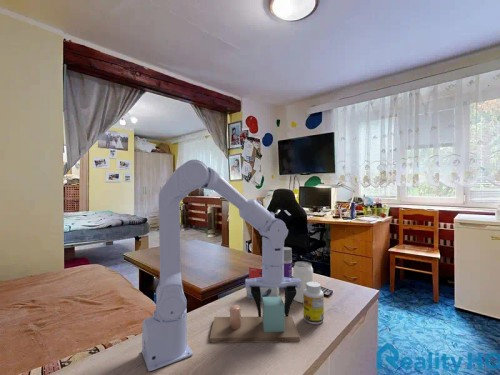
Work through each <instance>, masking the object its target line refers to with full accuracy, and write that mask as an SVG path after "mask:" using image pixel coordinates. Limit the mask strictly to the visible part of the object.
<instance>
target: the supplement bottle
mask: <svg viewBox="0 0 500 375" xmlns="http://www.w3.org/2000/svg"><path fill="white" fill-rule="evenodd" d="M324 296H325V294H324V292H323V290H322V288H321V283H320V282H317V281H313V282H307V283H306V289H305V290H304V303H303V319H304V321H305V322H306V323H309V324H311V325H320V324H322V323H323V322H324V313H325V312H324V309H325V308H324V304H325V301H324V298H325V297H324Z"/></svg>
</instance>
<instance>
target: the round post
mask: <svg viewBox="0 0 500 375" xmlns="http://www.w3.org/2000/svg"><path fill="white" fill-rule="evenodd" d="M241 312H242V309H241V306H240V305H238V304H234V305H231V306H230V307H229V317H230V328H231V329H234V330H236V329H239V328H240V327H241V317H242V316H241V314H242V313H241Z"/></svg>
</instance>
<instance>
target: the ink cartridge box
mask: <svg viewBox="0 0 500 375" xmlns="http://www.w3.org/2000/svg"><path fill="white" fill-rule="evenodd" d="M260 273H261V274H260ZM259 277H262V268H256V267H248V279H252V278H259ZM245 290H246V298H248V299H253V300H254V298H253V296H252V294H251V288H250V289H246V288H245ZM260 292H261V301H262V297H280V289H279V288H260Z"/></svg>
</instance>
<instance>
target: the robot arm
mask: <svg viewBox="0 0 500 375" xmlns="http://www.w3.org/2000/svg"><path fill="white" fill-rule="evenodd" d="M198 189H204V190H210V191H213V192H215V193H216V194H218V195H219V196H221V197H222V198H224V199H225V200H226V201H227V202H228V203H229V204H231V205H233V206H234V208H237V209H238V213H239V214H238V215H239V217H240V218H241V219H242V220H243V221H245V222H246V223H247V224H249V225H250V226H251V227H253V228H254V229H255V230H256V231H258V233H259V235H260V236H262V237H261V242H262V244H261V245H262V246H261V249H262V250H261V251H262V252H261V253H262V255H261V263H262V264H261V269H262V272H261V275H262V277H259V278H252V279H249V278H245V290H246V289H250V288H251V294H252V296H253V298H254V299H253V298H252V299H253V300H254V303H255V305H256V309H257V317H261V316H262V305H261V302H262V300H261V292H260V288H284V291H283V292H284V316H286V317H288V316H289V314H290V309H291V305H292V303H293V301H294V297H295V296H296V287H297V288H301V280H300V279H299V278H293V277H292V278H287V277H284V247H285V240H286V238H287V237H288V234H289V229H288V228H287V226H286V223H285V222H284V221H283V220H282V219H280V218H276V217H275V215H276V214H275V213H274V212H273V211H269V210H268V209H267V208H266V207H264V206H263V205H262V204H263V202H262V201H261V200H259V199H254V198H249V199H247V198H246V197H245V196H244V195H243V194H242V193H241V192H239V191H238V189H236V188H235V186H233V185H231V183H230V182H228V181H227V180H226V179H225V178H224V177H223V176H222V175H220V173H218V172H217V171H216V170H215V169H213V168H211V167H210V166H209V167H208V166H207V165H206V164H205V163H204V162H203V161H202V160H198V159H189V160H187V161H186V162H184V163H183V164H181V165H180V166H179V167H177V168H176V169H175V170H174V171H173V173H172V174H171V175H170V176H169V177H168V179H167V181H166V182H165V183H164V185H163V186H162V188H160V191H159V193H158V228H159V229H158V230H159V231H158V232H159V233H158V234H159V235H158V236H159V237H158V239H159V241H158V243H159V245H158V246H159V282H158V283H157V284H158V285H157V286H156V289H155V295H156V303H155V309H154V311H153V314H152V315H151V316H149V317H147V318H145V319H143V320H142V324H141V325H142V326H141V329H142V330H141V331H142V332H141V335H142V337H141V338H142V340H141V343H142V344H141V345H142V346H141V347H142V348H141V354H142V356H143V360H144V362H145V364H146V367H147V370H148V372H151V371H154V370H157V369H160V368H162V367H165V366H168V365H170V364H173V363H175V362H178V361H182V360H184V359H187V358H189V357H192V356H193V355H194V351H193V350H192V348H191V347H190V345H189V344H188V340H187V338H188V336H187V335H188V334H187V332H188V328H187V327H188V326H187V325H188V324H187V323H188V321H187V320H188V319H187V318H188V314H187V313H188V312H187V310H188V309H187V307H188V306H187V304H188V303H187V302H188V301H187V298H186V295H185V293H184V285H183V281H182V272H181V271H182V270H181V269H182V267H181V265H182V264H181V262H182V261H181V225H180V224H181V219H180V218H181V213H180V212H181V209H180V203H181V202H182V201H183V200H184V199H185V198H187V196H189V194H190V193H192V192H193V191H195V190H198Z"/></svg>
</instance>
